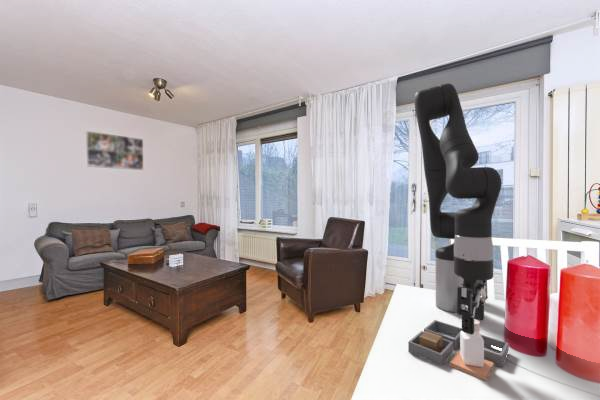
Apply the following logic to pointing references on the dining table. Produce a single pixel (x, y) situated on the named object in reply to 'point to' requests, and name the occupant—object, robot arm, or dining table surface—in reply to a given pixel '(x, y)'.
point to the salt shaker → (472, 347)
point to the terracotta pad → (472, 367)
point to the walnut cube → (431, 341)
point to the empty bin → (447, 329)
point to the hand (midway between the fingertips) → (473, 325)
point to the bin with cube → (430, 354)
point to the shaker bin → (494, 357)
